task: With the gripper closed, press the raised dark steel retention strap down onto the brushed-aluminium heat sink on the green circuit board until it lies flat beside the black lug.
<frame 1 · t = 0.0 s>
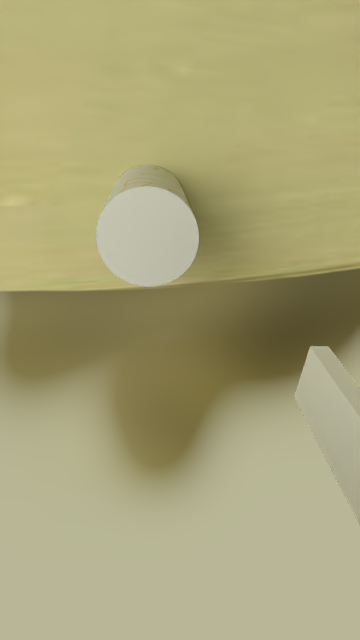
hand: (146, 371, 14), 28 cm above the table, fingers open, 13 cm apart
white patterned canister: (148, 204, 38), on the table
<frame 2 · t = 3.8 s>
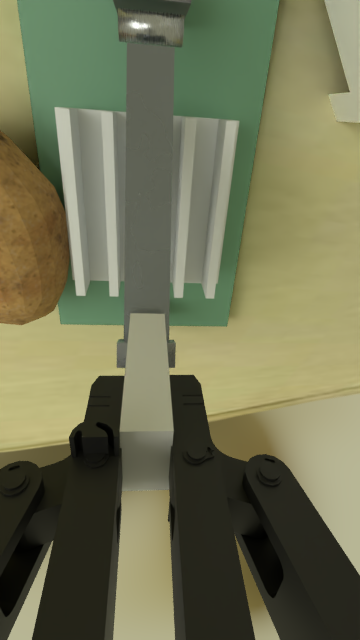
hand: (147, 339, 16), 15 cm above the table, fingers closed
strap: (148, 195, 17), point 11 cm above the table, hinge at 27.0°, touching gripper
potato: (14, 206, 27), on the table, touching heatsink board
heatsink board: (148, 181, 26), on the table
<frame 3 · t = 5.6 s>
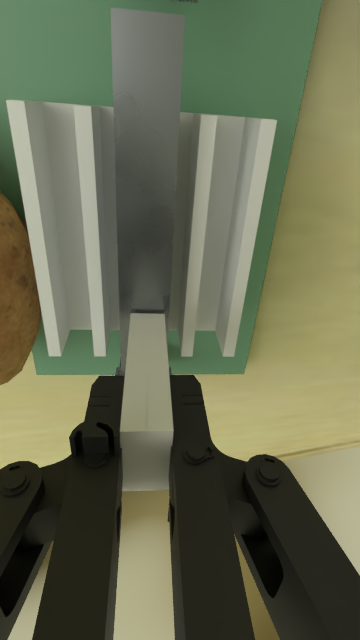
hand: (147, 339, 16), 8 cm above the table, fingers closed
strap: (145, 233, 14), point 7 cm above the table, hinge at 1.6°, touching gripper
heatsink board: (145, 199, 20), on the table
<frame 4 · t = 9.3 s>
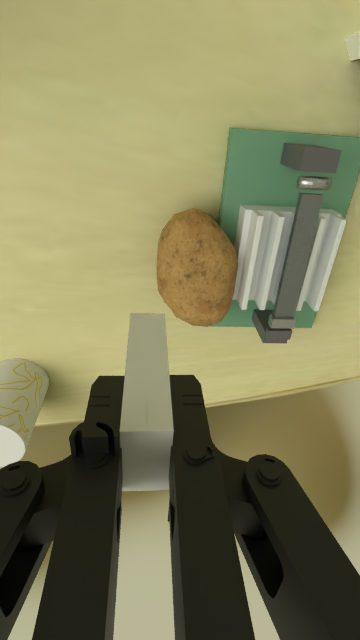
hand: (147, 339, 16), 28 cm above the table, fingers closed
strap: (296, 259, 37), point 7 cm above the table, hinge at 1.5°
potato: (192, 255, 44), on the table, touching heatsink board
white patterned canister: (21, 379, 52), on the table
heatsink board: (274, 240, 44), on the table
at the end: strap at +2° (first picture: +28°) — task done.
